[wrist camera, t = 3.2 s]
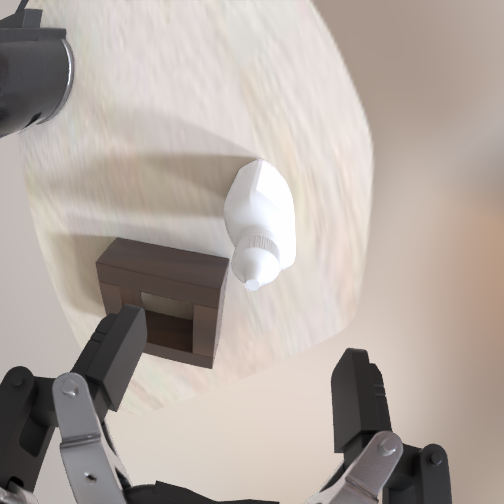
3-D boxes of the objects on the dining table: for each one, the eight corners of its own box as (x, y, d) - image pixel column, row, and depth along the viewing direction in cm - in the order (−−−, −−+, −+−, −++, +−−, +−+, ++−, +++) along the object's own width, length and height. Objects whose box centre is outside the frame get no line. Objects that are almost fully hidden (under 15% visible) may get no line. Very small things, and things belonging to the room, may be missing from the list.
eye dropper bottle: (295, 157, 22) (304, 232, 12) (293, 222, 25) (295, 328, 15) (238, 157, 22) (198, 229, 12) (241, 221, 25) (212, 324, 15)
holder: (116, 236, 28) (95, 262, 24) (229, 258, 28) (220, 289, 24) (128, 317, 34) (113, 344, 30) (219, 338, 34) (212, 369, 30)
